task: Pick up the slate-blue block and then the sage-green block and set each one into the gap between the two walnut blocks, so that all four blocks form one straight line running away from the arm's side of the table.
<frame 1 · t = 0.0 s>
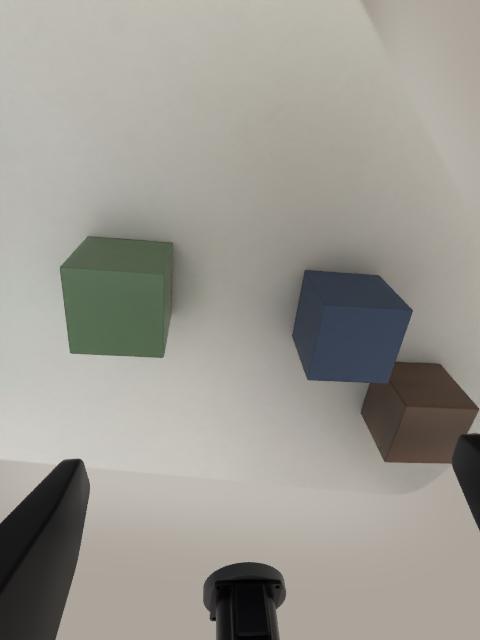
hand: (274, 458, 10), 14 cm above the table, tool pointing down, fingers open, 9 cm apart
green block: (131, 278, 22), on the table
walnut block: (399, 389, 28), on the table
blue block: (334, 306, 24), on the table
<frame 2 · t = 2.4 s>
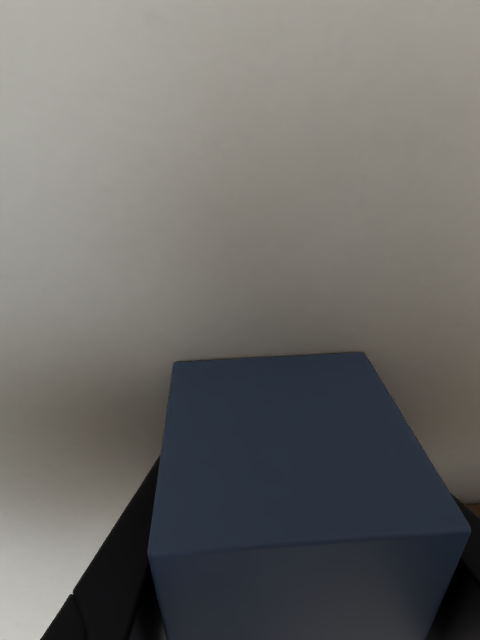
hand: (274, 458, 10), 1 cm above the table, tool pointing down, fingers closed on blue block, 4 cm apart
blue block: (268, 427, 10), on the table, touching gripper
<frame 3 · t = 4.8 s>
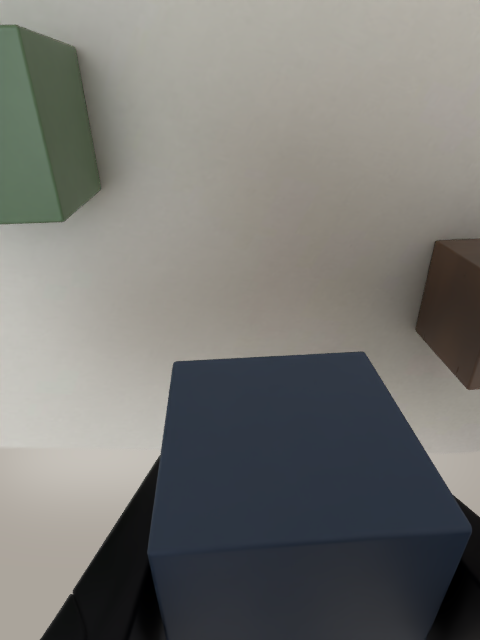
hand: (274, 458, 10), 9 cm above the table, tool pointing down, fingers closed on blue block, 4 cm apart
green block: (24, 125, 14), on the table
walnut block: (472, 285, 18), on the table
blue block: (268, 427, 10), point 8 cm above the table, touching gripper
when the fingers open (1 cm above the table, at t = 7.1 s): blue block stays where it is, on the table.
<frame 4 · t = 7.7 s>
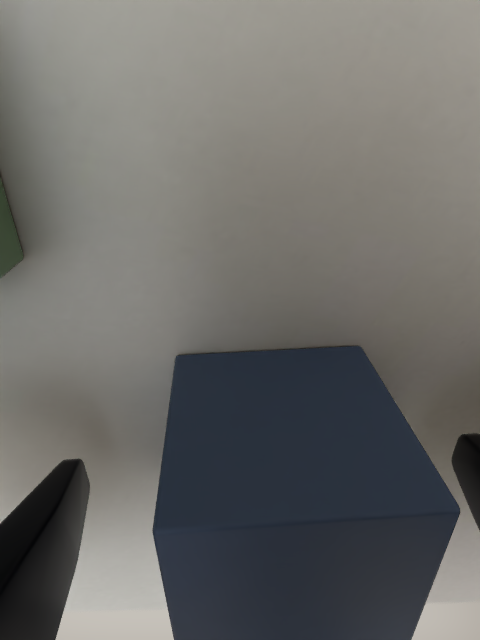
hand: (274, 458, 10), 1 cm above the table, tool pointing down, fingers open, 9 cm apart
blue block: (267, 419, 11), on the table
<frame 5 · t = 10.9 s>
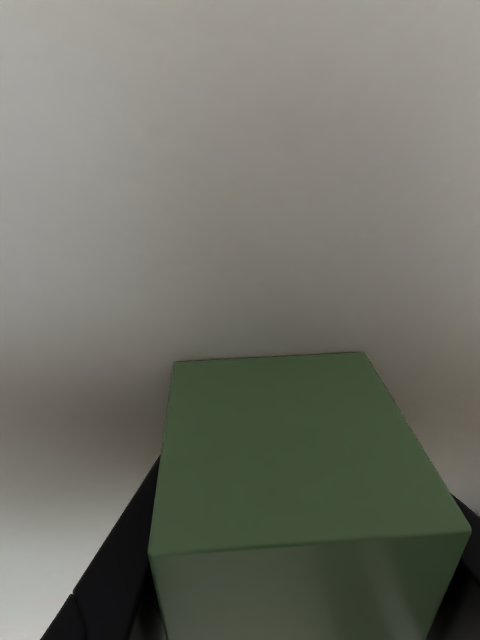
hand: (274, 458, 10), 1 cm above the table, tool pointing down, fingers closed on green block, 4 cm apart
green block: (268, 427, 10), on the table, touching gripper
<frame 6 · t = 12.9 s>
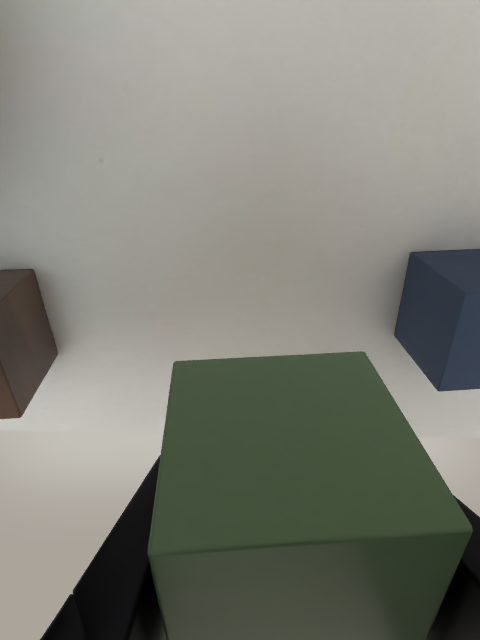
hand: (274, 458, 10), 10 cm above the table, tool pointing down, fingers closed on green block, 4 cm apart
green block: (268, 426, 10), point 9 cm above the table, touching gripper
blue block: (446, 293, 19), on the table
when the fingers open (1 cm above the table, at t = 15.4 s): green block stays where it is, on the table.
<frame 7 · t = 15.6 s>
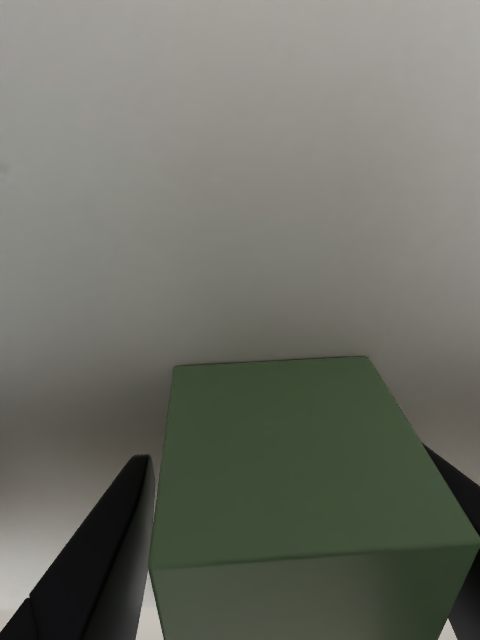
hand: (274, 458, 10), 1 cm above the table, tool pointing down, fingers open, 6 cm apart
green block: (270, 432, 10), on the table
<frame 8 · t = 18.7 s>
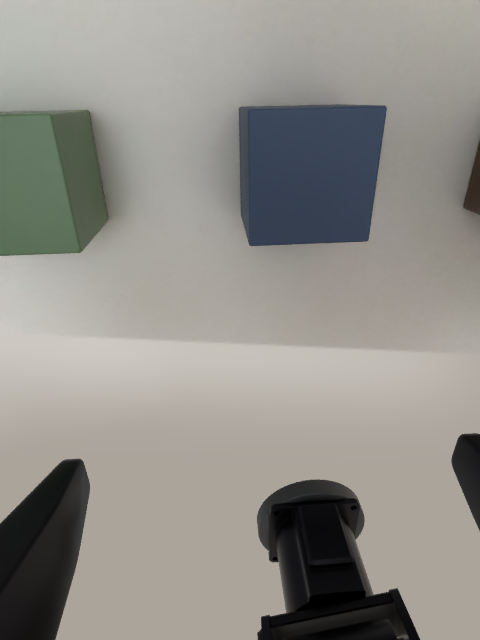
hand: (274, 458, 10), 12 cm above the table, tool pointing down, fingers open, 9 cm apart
green block: (46, 170, 17), on the table
blue block: (290, 163, 18), on the table
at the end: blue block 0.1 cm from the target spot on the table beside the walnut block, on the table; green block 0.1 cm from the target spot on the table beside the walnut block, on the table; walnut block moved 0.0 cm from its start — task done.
